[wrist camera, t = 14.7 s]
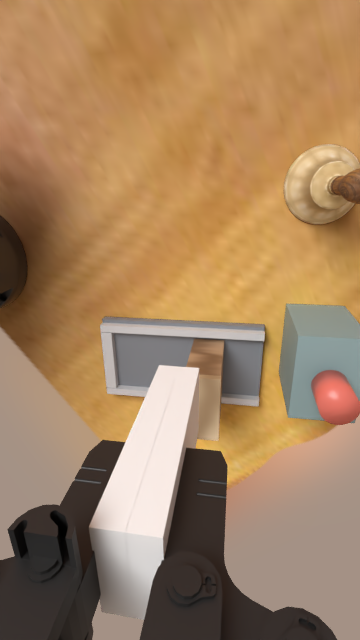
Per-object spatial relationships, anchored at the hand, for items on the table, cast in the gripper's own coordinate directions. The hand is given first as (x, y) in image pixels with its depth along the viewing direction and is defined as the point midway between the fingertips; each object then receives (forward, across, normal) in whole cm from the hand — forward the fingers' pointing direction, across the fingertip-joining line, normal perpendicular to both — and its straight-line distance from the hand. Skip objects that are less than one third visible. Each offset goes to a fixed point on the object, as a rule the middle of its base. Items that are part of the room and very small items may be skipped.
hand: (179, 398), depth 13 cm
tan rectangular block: (+31, -1, -16) cm, 35 cm away
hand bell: (+33, +11, +7) cm, 35 cm away
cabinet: (+32, +12, -12) cm, 37 cm away
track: (+32, -5, -16) cm, 36 cm away
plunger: (+22, +12, -12) cm, 28 cm away
